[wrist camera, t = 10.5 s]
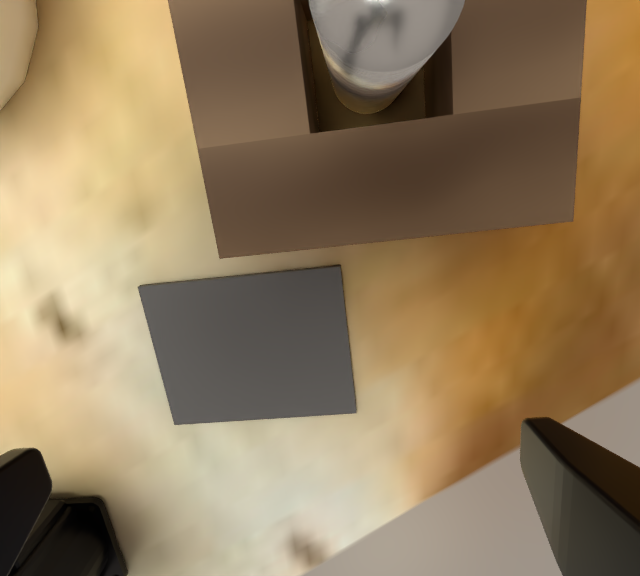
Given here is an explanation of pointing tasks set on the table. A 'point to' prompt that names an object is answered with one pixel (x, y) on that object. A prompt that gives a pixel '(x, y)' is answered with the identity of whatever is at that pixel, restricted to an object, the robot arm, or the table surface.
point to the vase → (15, 44)
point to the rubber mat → (252, 345)
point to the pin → (379, 45)
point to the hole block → (382, 128)
